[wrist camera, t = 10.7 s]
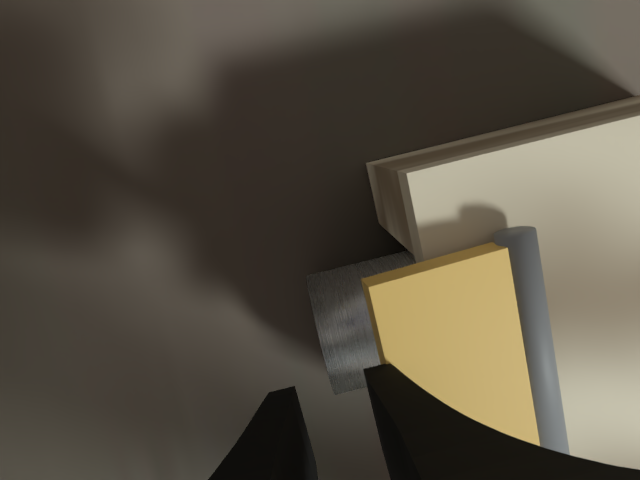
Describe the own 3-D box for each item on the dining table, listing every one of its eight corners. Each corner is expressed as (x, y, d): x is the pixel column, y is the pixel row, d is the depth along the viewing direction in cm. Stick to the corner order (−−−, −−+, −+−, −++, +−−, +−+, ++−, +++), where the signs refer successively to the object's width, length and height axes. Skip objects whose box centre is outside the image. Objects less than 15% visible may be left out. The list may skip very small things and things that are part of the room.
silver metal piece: (693, 305, 19) (868, 376, 13) (338, 395, 19) (359, 505, 13) (679, 128, 17) (868, 120, 12) (294, 224, 17) (295, 263, 12)
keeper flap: (581, 479, 12) (426, 533, 11) (557, 456, 13) (413, 505, 12) (544, 229, 10) (367, 279, 10) (521, 224, 11) (357, 269, 11)
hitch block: (660, 348, 19) (832, 442, 13) (419, 409, 19) (479, 533, 13) (636, 96, 17) (825, 69, 11) (365, 162, 17) (406, 173, 11)
